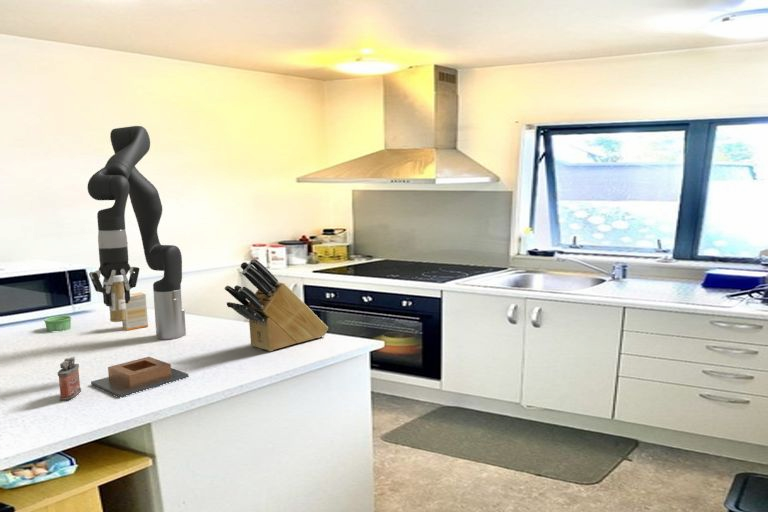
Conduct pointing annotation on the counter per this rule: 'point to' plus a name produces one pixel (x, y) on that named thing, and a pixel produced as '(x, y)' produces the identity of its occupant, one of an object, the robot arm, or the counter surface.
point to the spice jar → (117, 300)
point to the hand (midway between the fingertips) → (117, 304)
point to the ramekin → (58, 323)
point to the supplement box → (136, 312)
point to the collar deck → (129, 391)
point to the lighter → (69, 379)
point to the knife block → (274, 311)
